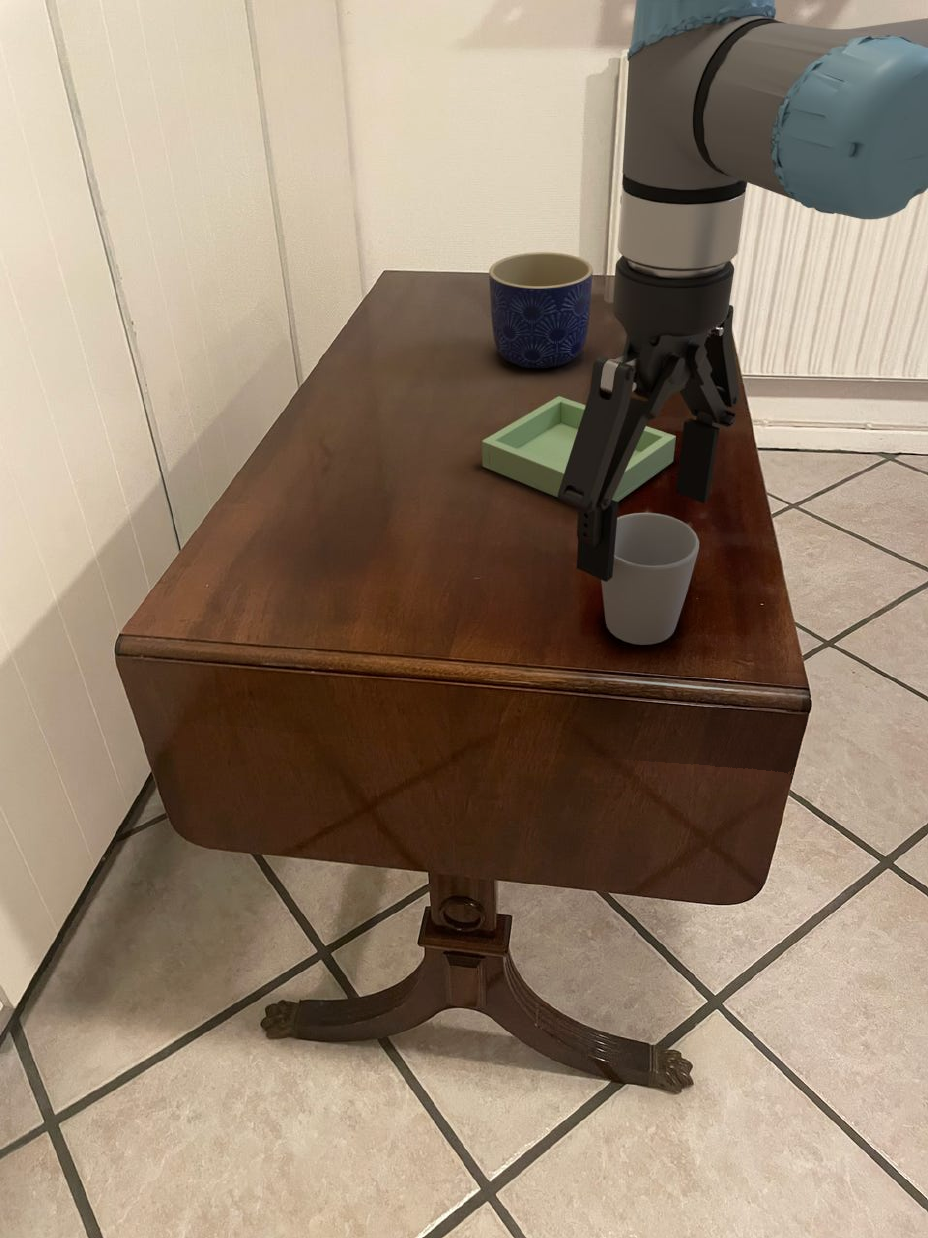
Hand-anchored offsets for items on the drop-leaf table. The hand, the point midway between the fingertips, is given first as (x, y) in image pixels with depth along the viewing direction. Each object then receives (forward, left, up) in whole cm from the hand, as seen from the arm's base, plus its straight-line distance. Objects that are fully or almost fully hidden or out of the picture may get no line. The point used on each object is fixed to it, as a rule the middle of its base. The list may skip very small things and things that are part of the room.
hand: (645, 532), depth 74 cm
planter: (+39, -36, -8) cm, 54 cm away
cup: (0, 0, -8) cm, 8 cm away
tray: (+19, -17, -8) cm, 27 cm away
